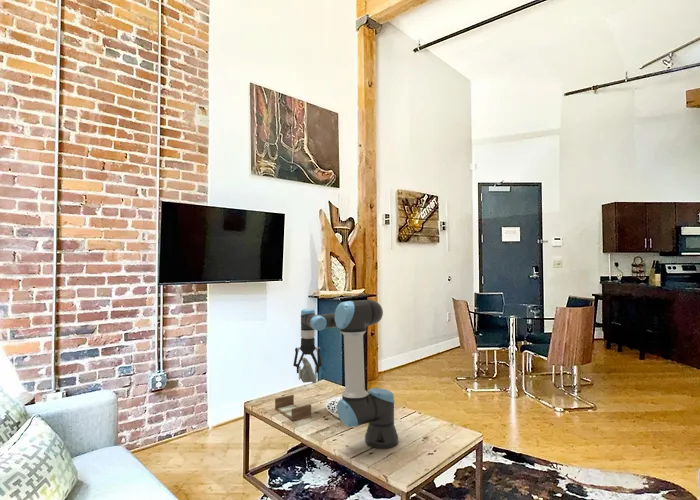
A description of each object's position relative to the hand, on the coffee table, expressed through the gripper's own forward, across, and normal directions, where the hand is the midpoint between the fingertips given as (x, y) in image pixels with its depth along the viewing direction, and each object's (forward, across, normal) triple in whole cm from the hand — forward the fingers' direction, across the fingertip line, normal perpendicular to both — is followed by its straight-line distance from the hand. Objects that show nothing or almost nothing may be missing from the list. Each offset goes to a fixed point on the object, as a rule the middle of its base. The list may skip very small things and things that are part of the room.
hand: (307, 378), depth 224 cm
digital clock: (+1, -1, 0) cm, 1 cm away
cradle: (+18, +8, +2) cm, 20 cm away
